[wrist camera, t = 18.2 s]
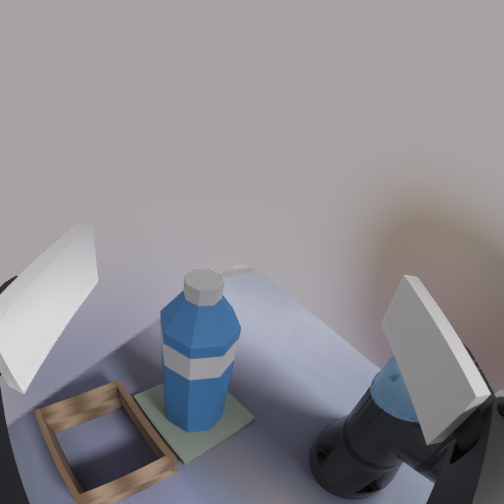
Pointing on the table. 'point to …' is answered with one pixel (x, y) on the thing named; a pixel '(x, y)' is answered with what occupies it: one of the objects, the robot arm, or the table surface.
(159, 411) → the mat
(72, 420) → the wooden frame
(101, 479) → the table surface
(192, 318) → the water bottle
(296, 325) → the table surface
